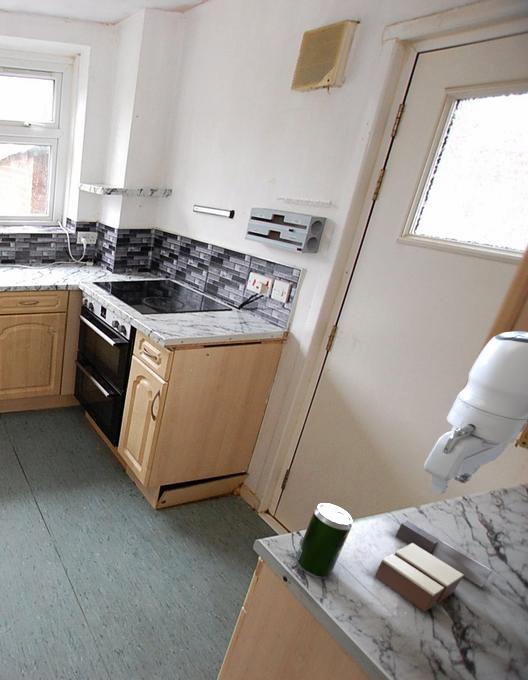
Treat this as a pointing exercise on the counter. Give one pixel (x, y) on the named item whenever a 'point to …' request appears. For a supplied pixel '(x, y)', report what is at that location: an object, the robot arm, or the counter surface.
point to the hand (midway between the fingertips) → (448, 486)
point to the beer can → (323, 540)
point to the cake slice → (409, 582)
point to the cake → (431, 568)
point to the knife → (444, 553)
